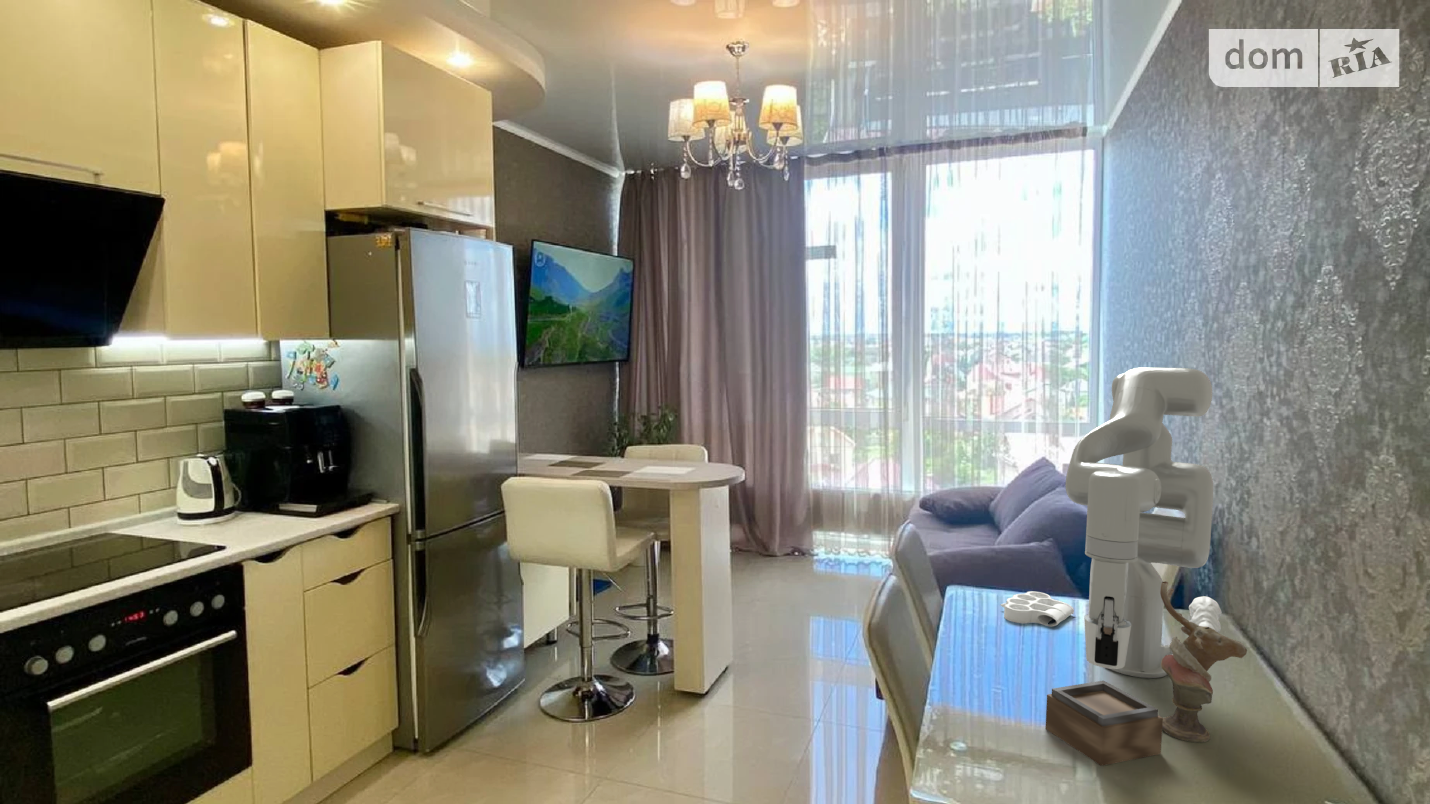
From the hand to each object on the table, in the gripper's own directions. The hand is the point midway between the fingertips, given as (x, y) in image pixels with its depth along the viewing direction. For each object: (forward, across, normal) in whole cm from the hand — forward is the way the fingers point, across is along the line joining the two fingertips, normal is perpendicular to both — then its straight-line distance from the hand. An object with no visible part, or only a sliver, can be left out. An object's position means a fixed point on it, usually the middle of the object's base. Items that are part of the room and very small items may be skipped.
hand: (1105, 655), depth 125 cm
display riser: (+15, 0, 0) cm, 15 cm away
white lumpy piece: (+15, -62, +20) cm, 67 cm away
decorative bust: (+15, -10, +14) cm, 23 cm away
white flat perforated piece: (+15, -60, -15) cm, 64 cm away
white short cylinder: (+1, 0, 0) cm, 1 cm away
